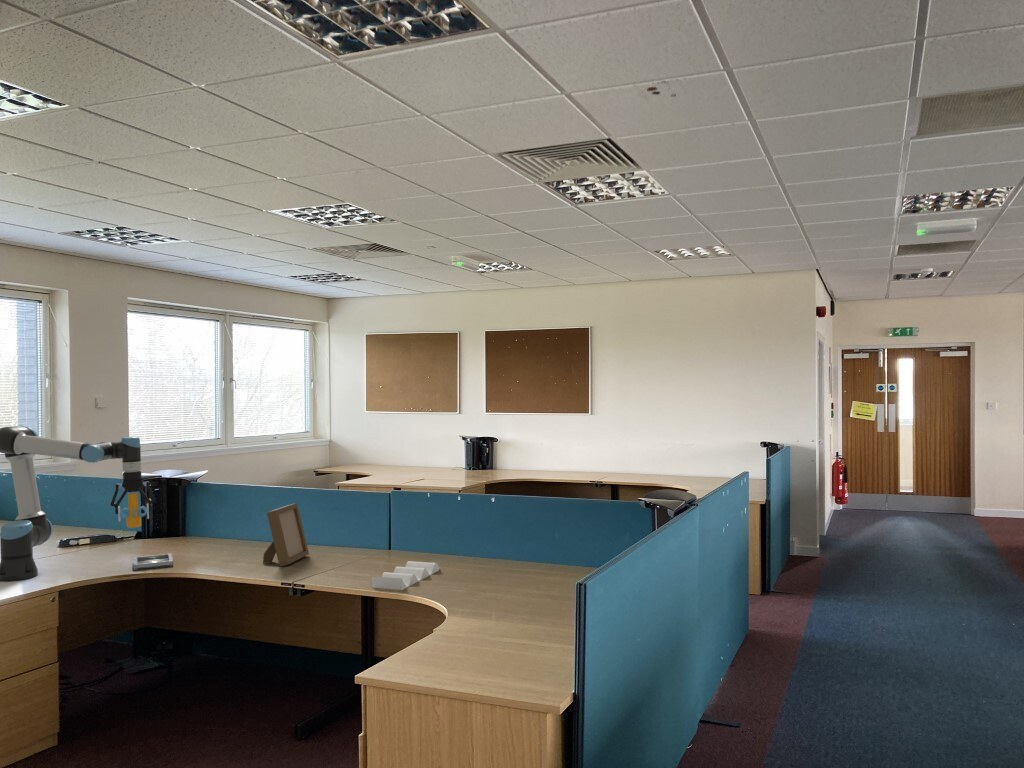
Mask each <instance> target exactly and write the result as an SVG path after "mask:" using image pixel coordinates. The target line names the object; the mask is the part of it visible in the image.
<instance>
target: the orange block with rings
mask: <svg viewBox="0 0 1024 768" xmlns="http://www.w3.org/2000/svg"><path fill="white" fill-rule="evenodd" d="M127 499H128V500H127V502H128V503H127V504H128V507H123V508H121V509H120V518H121V519H126V528H129V529H132V528H140V527H142V517H145V516H146V515H147V506H145V505H142V506H139V493H138V492H128V493H127ZM141 510H143V511H144V513H142V512H140V511H141ZM124 511H126V514H124Z"/></svg>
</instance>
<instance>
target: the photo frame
mask: <svg viewBox="0 0 1024 768" xmlns="http://www.w3.org/2000/svg"><path fill="white" fill-rule="evenodd" d="M266 515H267V516H266V517H267V519H268V523H269V527H270V533H271V537H272V540H273V541H272V542H271V543H270V545H269V546H268V547H267V549H266V550H265V551H264V553H263V556H262V563H263V564H267V563H273V560H274V558H275V556H276V557H277V563H278V566H279V567H283V566H288V565H291V564H292V563H294V562H296V561H298V560H300V559H302V558H304V557H307V556H308V555H310V553H309V547H308V544H307V543H308V542H307V540H306V536H305V531H304V527H303V522H302V519H301V515H300V509H299V505H298V503H297V502H295V503H292V504H287V505H285V506H282V507H279V508H275V509H273V510H270V511H267V512H266Z"/></svg>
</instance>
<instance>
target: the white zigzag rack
mask: <svg viewBox="0 0 1024 768" xmlns="http://www.w3.org/2000/svg"><path fill="white" fill-rule="evenodd" d="M440 570H441V569H440V566H439V564H438V563H437V562H425V561H407V562H406V563H405V566H395V568H394V571H393V572H385V571H384V572H383V573H382V576H373V575H372V576H371V584H372V585H371V586H372V589H373V588H374V589H384V590H396V591H403V590H405V589H407V588H408V587H410V586H413V585H414V584H416V583H419V582H420V581H422V580H424V579H426V578H428V577H430V576H431V575H434V574H435V573H437V572H439V571H440Z"/></svg>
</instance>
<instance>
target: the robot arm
mask: <svg viewBox="0 0 1024 768" xmlns="http://www.w3.org/2000/svg"><path fill="white" fill-rule="evenodd" d="M0 453H1V454H4V457H5V459H6V461H9V463H10V468H11V474H12V475H11V476H12V480H13V487H14V492H15V493H14V494H15V499H16V505H17V512H18V515H17V516H16V518H15V520H13V521H9V522H6V523H4V524H3V525H2V526H1V527H0V582H12V581H14V582H16V581H20V580H21V581H22V580H26V579H31V578H34V577H37V576H38V573H39V572H38V571H39V569H38V567H37V566H38V565H36V562H35V560H34V553H33V552H34V551H33V549H34V547H37V546H41V545H43V544H44V543H45V542H47V541H48V540H50V538H51V536H52V535H53V531H54V525H53V524H52V522H51V521H50V520H49V519H48V518H47V513H46V512H44V511H43V510H42V508H41V502H40V495H39V489H38V484H37V483H38V482H37V477H36V472H35V464H34V457H35V455H40V456H47V457H54V458H55V457H56V458H63V459H65V458H66V459H69V460H70V459H71V460H81V461H84V462H87V463H98V462H102V461H106V460H114V459H115V460H116V459H121V460H122V461H121V462H122V471H123V473H122V483H116V484H115V490H114V494H113V496H112V499H111V501H110V506H111V507H114V511H115V513H114V514H116V515H117V516H118V517H117V518H118V519H117V520H118V523H119V522H121V519H122V518H121V517H120V511H121V506H120V503H122V501H123V499H124V498H125V496H126V495H127V494H128V493H138V492H139V494H140V495H141V496H142V497H143V499H144V500H145V501H146V502H147V503H146V508H147V513H146V515H147V516H146V519H147V520H149V519H150V512H151V511H152V510H153V509H152V508H153V507H152V504H153V503H155V502H156V501H157V500H156V498H155V496H154V493H153V491H152V489H151V487H150V481H143V480H142V471H141V470H142V459H141V457H142V456H141V454H142V452H141V439H140V437H138V436H125V437H122V438H121V440H120V441H117V442H116V441H112V442H108V441H107V442H104V441H103V442H96V443H88V442H80V441H73V440H66V439H65V440H64V439H58V438H52V437H51V438H48V437H43V436H39V435H38V433H37V432H36V430H35V429H34V428H32V427H30V426H27V425H21V424H20V425H13V426H3V427H1V428H0ZM143 485H144V487H146V490H147V492H148V493H149V496H150V498H149V497H148V495H147V494H146V493H145V492H144V491H143V490H142V488H141V487H142V486H143ZM121 487H123V488H124V490H123V492H122V494H121V496H120V497H119V498H118V499H117V495H118V493H119V490H120V489H122V488H121ZM116 499H117V502H116Z"/></svg>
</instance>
